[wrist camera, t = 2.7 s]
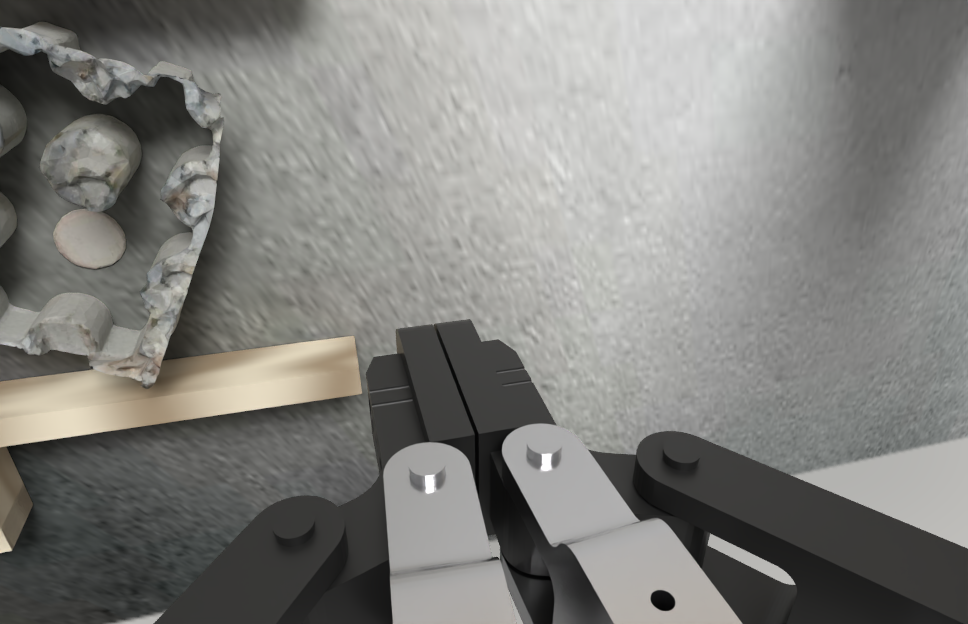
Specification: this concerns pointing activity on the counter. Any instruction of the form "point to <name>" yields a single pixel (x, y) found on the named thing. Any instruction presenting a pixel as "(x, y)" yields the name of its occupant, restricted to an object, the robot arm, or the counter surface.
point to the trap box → (162, 401)
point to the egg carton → (107, 207)
